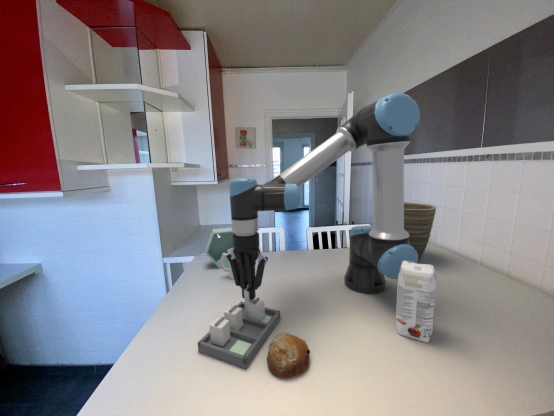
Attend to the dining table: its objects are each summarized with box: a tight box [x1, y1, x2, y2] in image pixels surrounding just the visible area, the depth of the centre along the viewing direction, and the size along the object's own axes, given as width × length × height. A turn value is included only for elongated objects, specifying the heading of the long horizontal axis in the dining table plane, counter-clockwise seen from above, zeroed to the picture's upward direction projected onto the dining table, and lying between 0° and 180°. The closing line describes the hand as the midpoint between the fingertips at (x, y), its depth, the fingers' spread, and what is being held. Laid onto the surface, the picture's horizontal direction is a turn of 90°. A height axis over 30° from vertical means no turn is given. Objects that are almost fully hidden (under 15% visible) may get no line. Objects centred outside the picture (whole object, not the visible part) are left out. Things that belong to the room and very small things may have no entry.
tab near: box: [209, 316, 230, 347], centre depth 60 cm, size 4×3×6 cm
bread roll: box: [266, 332, 311, 379], centre depth 55 cm, size 10×10×8 cm
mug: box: [221, 248, 235, 281], centre depth 100 cm, size 10×7×12 cm, turn 96°
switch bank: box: [197, 301, 281, 370], centre depth 65 cm, size 14×20×3 cm
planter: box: [205, 226, 234, 269], centre depth 114 cm, size 17×8×21 cm
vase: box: [404, 201, 437, 264], centre depth 113 cm, size 24×24×30 cm
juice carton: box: [395, 260, 437, 344], centre depth 63 cm, size 8×9×19 cm
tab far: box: [248, 296, 266, 321], centre depth 70 cm, size 4×3×6 cm
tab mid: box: [223, 304, 243, 331], centre depth 66 cm, size 4×3×6 cm
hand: (249, 308), depth 71 cm, fingers closed
